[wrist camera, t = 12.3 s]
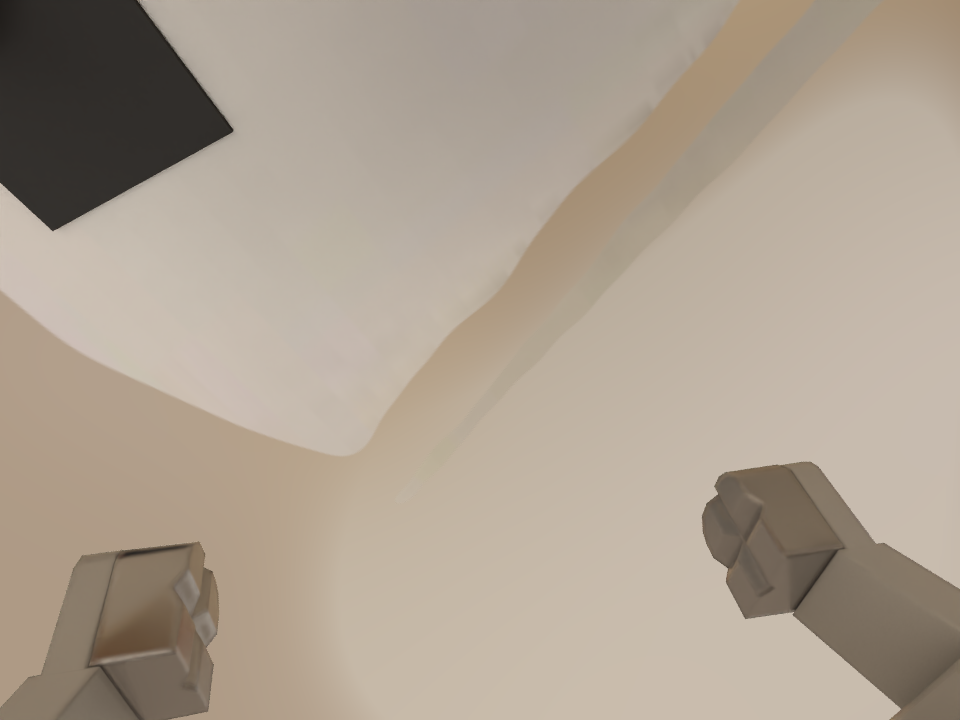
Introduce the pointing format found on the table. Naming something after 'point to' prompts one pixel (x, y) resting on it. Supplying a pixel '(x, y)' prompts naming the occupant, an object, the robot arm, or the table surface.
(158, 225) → the table surface
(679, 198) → the table surface
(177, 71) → the placemat
